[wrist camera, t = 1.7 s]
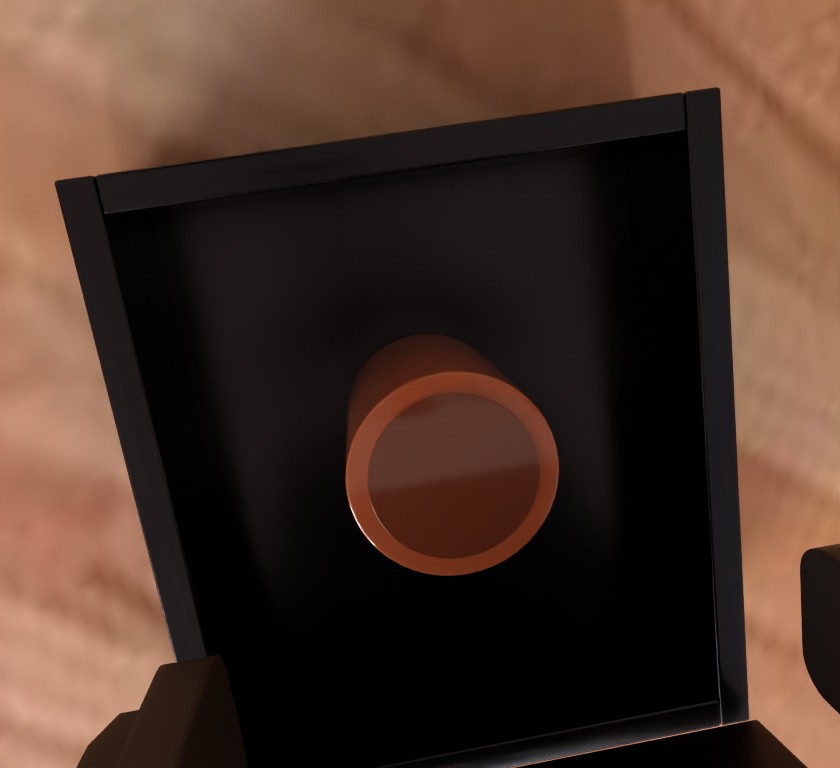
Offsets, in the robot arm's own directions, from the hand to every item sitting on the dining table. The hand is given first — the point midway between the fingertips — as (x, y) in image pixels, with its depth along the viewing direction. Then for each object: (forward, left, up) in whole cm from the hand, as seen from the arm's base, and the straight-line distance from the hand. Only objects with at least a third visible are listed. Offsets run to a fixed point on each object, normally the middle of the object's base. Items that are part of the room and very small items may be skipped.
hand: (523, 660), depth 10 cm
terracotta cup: (0, 0, -13) cm, 13 cm away
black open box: (+1, 0, -14) cm, 14 cm away
